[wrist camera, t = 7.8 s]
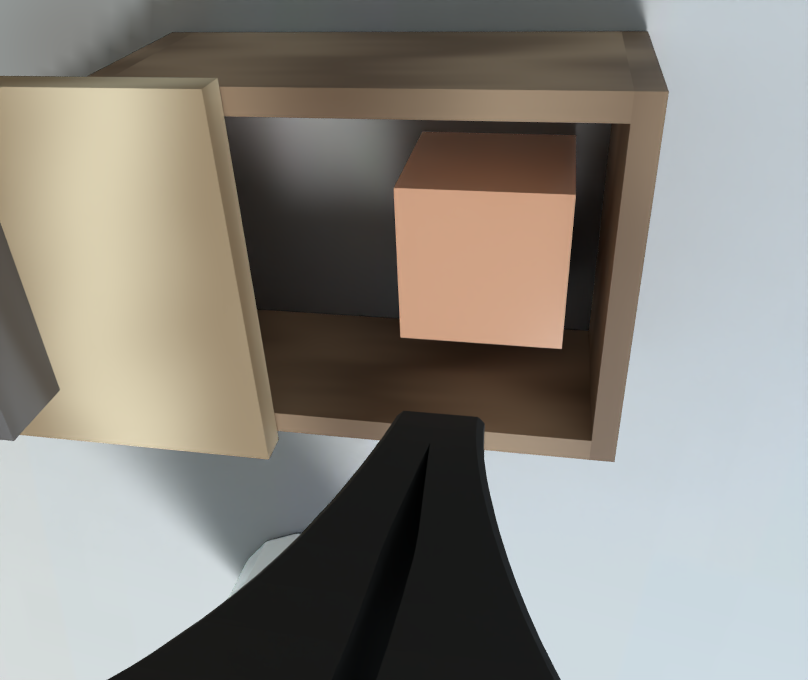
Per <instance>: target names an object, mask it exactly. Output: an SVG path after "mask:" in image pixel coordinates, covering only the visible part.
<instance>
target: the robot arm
mask: <svg viewBox="0 0 808 680" xmlns="http://www.w3.org/2000/svg"><path fill="white" fill-rule="evenodd" d="M484 434H485V423H484V422H483V421H482V420H481V419H480V418H479V417H473V416H462V415H450V414H438V413H426V412H415V411H402V412H401V413H400V414H398V415H397V416H396V418H395V419H394V421H393V422H392V424H391V425H390V427H389V428H388V430H387V431H386V433H385V434H384V436H383V437H382V438H381V440H380V441H379V443H378V444H377V445H376V447H375V448H374V449H373V451H372V452H371V453H370V455H369V456H368V457H367V459H366V460H365V461H364V463H363V464H362V465H361V466H360V468H359V469H358V470H357V471H356V472H355V474H354V475H353V476H352V477H351V478H350V480H349V481H348V482H347V483H346V485H345V486H344V487H343V488H342V489H341V491H340V492H339V493H338V494H337V495H336V496H335V498H334V499H333V500H332V501H331V502H330V503H329V504H328V505H327V506H326V508H325V509H324V510H323V511H322V512H321V513H320V514H319V515H318V516H317V517H316V518H315V519H314V520H313V521H312V523H311V524H310V525H309V526H308V527H307V528H306V529H305V530H304V531H303V532H302V533H301V534H300V535H299V536H298V537H297V538H296V539H295V540H294V541H293V542H292V543H291V544H290V545H289V546H288V547H287V548H286V549H285V550H284V551H283V552H282V553H281V554H280V555H279V556H278V557H276V558H275V559H274V560H273V561H272V562H271V563H270V564H269V565H268V566H266V567H265V568H264V569H263V570H262V571H261V572H260V573H259V574H257V575H256V576H255V577H254V578H253V579H251V580H250V581H249V582H248V583H247V584H245V585H244V586H243V587H242V588H240V589H239V590H238V591H237V592H236V593H234V594H233V595H232V596H231V597H229V598H228V599H227V600H226V601H225V602H223V603H222V604H221V605H219V606H218V607H217V608H216V609H214V610H213V611H212V612H210V613H209V614H208V615H206V616H205V617H204V618H202V619H201V620H199V621H198V622H197V623H195V624H194V625H192V626H191V627H189V628H188V629H186V630H185V631H183V632H182V633H180V634H179V635H178V636H176V637H175V638H173V639H172V640H170V641H169V642H167V643H166V644H164V645H163V646H162V647H160V648H159V649H157V650H156V651H154V652H153V653H151V654H150V655H148V656H147V657H145V658H143V659H142V660H140V661H139V662H137V663H136V664H134V665H132V666H131V667H129V668H127V669H125V670H124V671H122V672H120V673H118V674H117V675H115V676H113V677H111V678H110V679H108V680H560V678H559V676H558V674H557V672H556V670H555V668H554V666H553V664H552V662H551V660H550V658H549V656H548V654H547V652H546V650H545V648H544V646H543V644H542V642H541V640H540V638H539V636H538V633H537V631H536V629H535V627H534V624H533V622H532V620H531V618H530V615H529V613H528V611H527V608H526V606H525V603H524V601H523V598H522V596H521V593H520V591H519V588H518V586H517V583H516V580H515V578H514V575H513V572H512V569H511V566H510V564H509V561H508V558H507V554H506V551H505V548H504V545H503V542H502V539H501V535H500V532H499V528H498V525H497V521H496V517H495V513H494V509H493V505H492V501H491V496H490V492H489V487H488V482H487V477H486V470H485V462H484Z"/></svg>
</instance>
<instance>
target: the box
mask: <svg viewBox="0 0 808 680" xmlns="http://www.w3.org/2000/svg"><path fill="white" fill-rule="evenodd" d="M87 77H169V78H218V84H219V89H220V95H221V101H222V107H223V113H224V116H233V117H288V118H343V119H399V120H454V121H510V122H565V123H611V132H610V141H609V150H608V159H607V168H606V177H605V187H604V196H603V205H602V214H601V223H600V232H599V242H598V251H597V260H596V269H595V278H594V288H593V297H592V306H591V315H590V324H589V331H585V330H569V329H564V330H563V341H562V349H554V348H540V347H526V346H512V345H499V344H485V343H471V342H457V341H443V340H429V339H415V338H401V337H400V319H397V318H382V317H366V316H350V315H335V314H319V313H303V312H288V311H272V310H257V314H258V320H259V326H260V332H261V338H262V344H263V349H264V355H265V361H266V367H267V373H268V379H269V385H270V391H271V397H272V403H273V409H274V415H275V420H276V426H277V431H284V432H295V433H306V434H317V435H328V436H338V437H349V438H360V439H371V440H381V438H382V437H383V436H384V434H385V433H386V431H387V430H388V428H389V427H390V425H391V424H392V422H393V421H394V419H395V418H396V416H397V415H398V414H400V413H401V412H402V411H415V412H426V413H438V414H450V415H462V416H473V417H479V418H480V419H481V420H482V421H483V422H484V423H485V434H484V450H490V451H501V452H512V453H522V454H533V455H544V456H555V457H566V458H577V459H587V460H598V461H609V462H614V461H615V454H616V447H617V440H618V433H619V427H620V420H621V413H622V406H623V399H624V393H625V386H626V379H627V372H628V365H629V359H630V352H631V345H632V338H633V331H634V325H635V318H636V311H637V304H638V297H639V291H640V284H641V277H642V270H643V263H644V257H645V250H646V243H647V236H648V229H649V223H650V216H651V209H652V202H653V195H654V189H655V182H656V175H657V168H658V161H659V155H660V148H661V141H662V134H663V127H664V120H665V114H666V107H667V100H668V93H669V91H668V88H667V85H666V82H665V79H664V77H663V74H662V71H661V68H660V65H659V62H658V59H657V56H656V54H655V51H654V48H653V45H652V42H651V39H650V36H649V33H648V31H594V32H172V33H170V34H168V35H166V36H164V37H163V38H161V39H159V40H157V41H155V42H153V43H151V44H149V45H147V46H145V47H143V48H141V49H139V50H137V51H135V52H133V53H131V54H129V55H127V56H126V57H124V58H122V59H120V60H118V61H116V62H114V63H112V64H110V65H108V66H106V67H104V68H102V69H100V70H98V71H96V72H94V73H92V74H91V75H89V76H87Z"/></svg>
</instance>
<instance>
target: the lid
mask: <svg viewBox="0 0 808 680" xmlns="http://www.w3.org/2000/svg"><path fill="white" fill-rule="evenodd" d="M19 435H27V436H37V437H48V438H58V439H68V440H78V441H88V442H98V443H108V444H118V445H128V446H138V447H148V448H158V449H168V450H178V451H189V452H199V453H209V454H219V455H229V456H239V457H249V458H259V459H269V458H270V456H271V454H272V452H273V450H274V448H275V446H276V444H277V442H278V440H279V438H278V432H277V426H276V420H275V415H274V409H273V403H272V397H271V391H270V385H269V379H268V373H267V367H266V361H265V355H264V349H263V344H262V338H261V332H260V326H259V320H258V314H257V308H256V302H255V296H254V290H253V284H252V279H251V273H250V267H249V261H248V255H247V249H246V243H245V237H244V231H243V225H242V219H241V214H240V208H239V202H238V196H237V190H236V184H235V178H234V172H233V166H232V160H231V154H230V149H229V143H228V137H227V131H226V125H225V119H224V113H223V107H222V101H221V95H220V89H219V84H218V78H169V77H55V76H0V440H10V441H14V440H15V439H16V438H17V437H18V436H19Z"/></svg>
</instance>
